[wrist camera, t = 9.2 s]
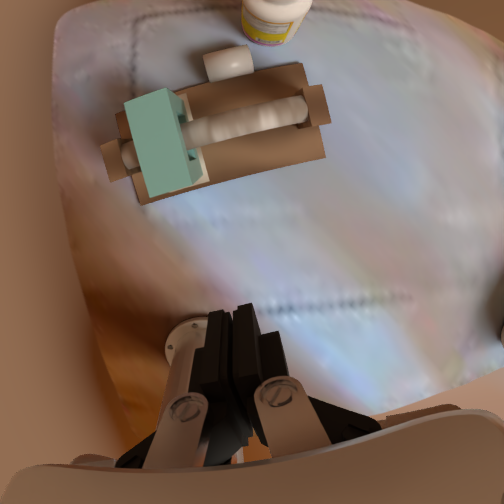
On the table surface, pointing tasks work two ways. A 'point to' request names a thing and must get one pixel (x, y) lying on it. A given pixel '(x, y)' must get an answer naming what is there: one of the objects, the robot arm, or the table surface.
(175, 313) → the table surface
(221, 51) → the sleeve
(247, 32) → the supplement bottle
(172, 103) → the collar
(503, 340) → the canister
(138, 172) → the pipe rig
